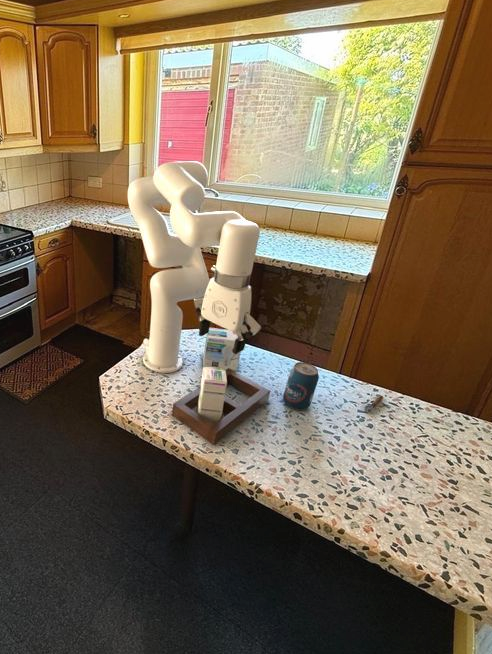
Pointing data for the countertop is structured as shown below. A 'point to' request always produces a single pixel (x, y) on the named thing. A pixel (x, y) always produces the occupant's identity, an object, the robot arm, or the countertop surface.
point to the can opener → (374, 403)
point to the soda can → (301, 386)
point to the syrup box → (212, 394)
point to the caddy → (230, 408)
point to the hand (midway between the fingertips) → (220, 342)
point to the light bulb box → (220, 349)
